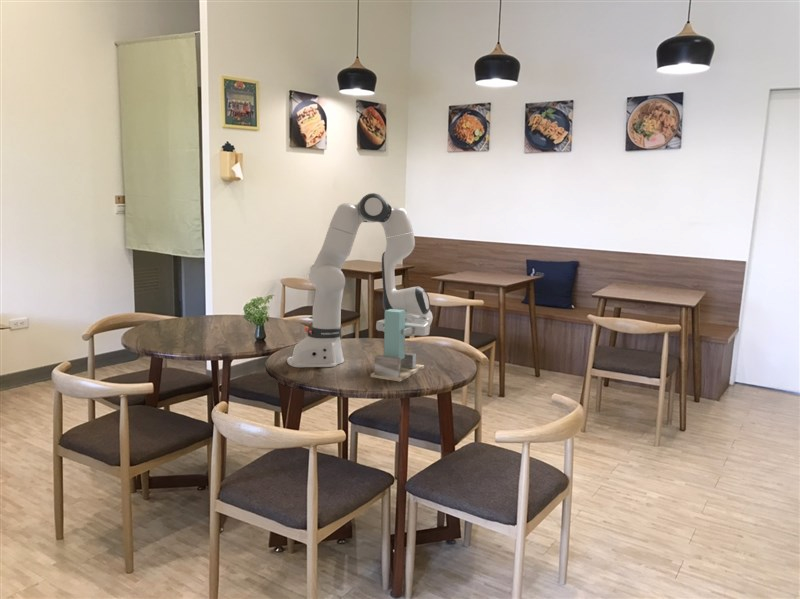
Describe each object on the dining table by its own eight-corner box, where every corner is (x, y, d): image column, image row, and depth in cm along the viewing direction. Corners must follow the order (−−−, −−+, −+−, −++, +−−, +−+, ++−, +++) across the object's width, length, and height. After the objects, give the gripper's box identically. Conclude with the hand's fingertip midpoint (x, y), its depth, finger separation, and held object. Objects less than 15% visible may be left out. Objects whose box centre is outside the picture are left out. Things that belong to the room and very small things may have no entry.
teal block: (390, 355, 241) (390, 308, 239) (404, 357, 239) (405, 310, 236) (384, 358, 237) (384, 310, 234) (398, 360, 235) (399, 312, 232)
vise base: (396, 363, 255) (397, 344, 254) (424, 367, 250) (424, 347, 249) (370, 376, 236) (371, 355, 234) (400, 381, 231) (400, 360, 229)
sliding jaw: (394, 363, 250) (394, 350, 249) (415, 366, 246) (416, 353, 245) (391, 365, 247) (391, 352, 246) (412, 368, 243) (412, 355, 243)
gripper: (385, 313, 252) (368, 319, 239) (433, 318, 243) (418, 325, 231) (385, 329, 253) (368, 336, 240) (433, 335, 244) (418, 342, 232)
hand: (393, 330), depth 235 cm, fingers closed on teal block, 6 cm apart
